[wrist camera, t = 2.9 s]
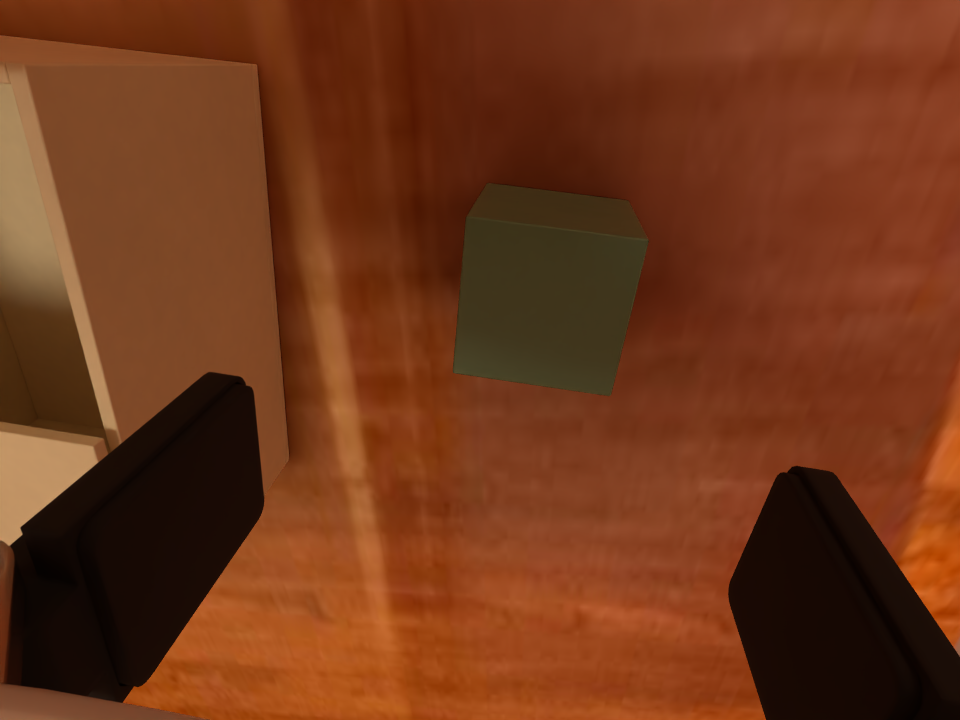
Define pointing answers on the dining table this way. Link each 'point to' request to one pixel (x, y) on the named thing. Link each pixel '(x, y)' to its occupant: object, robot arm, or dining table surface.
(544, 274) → the block
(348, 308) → the dining table surface
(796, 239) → the dining table surface
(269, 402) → the carton
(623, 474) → the dining table surface
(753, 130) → the dining table surface
